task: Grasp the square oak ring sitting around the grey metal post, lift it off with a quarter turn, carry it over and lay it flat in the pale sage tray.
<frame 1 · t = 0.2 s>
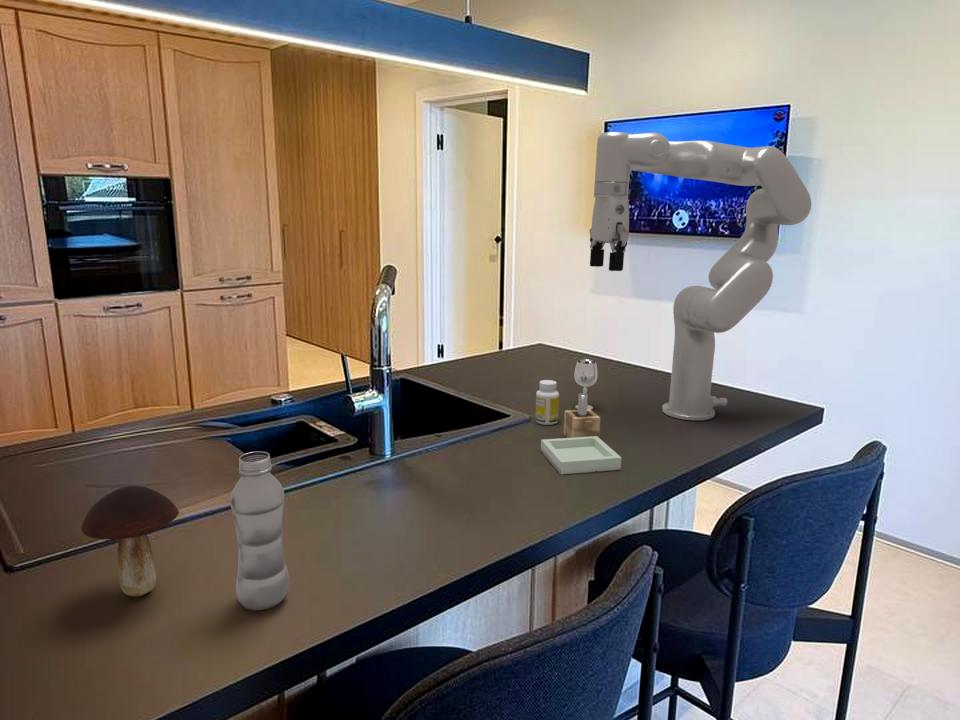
hand: (605, 268, 152), 36 cm above the counter, tool pointing down, fingers open, 9 cm apart
wineglass: (584, 408, 169), on the counter
plastic bottle: (264, 602, 86), on the counter
ring: (580, 438, 147), on the counter
supplement bottle: (546, 422, 158), on the counter
decorative mushroom: (140, 595, 87), on the counter
post: (580, 438, 147), on the counter
tray: (579, 460, 135), on the counter
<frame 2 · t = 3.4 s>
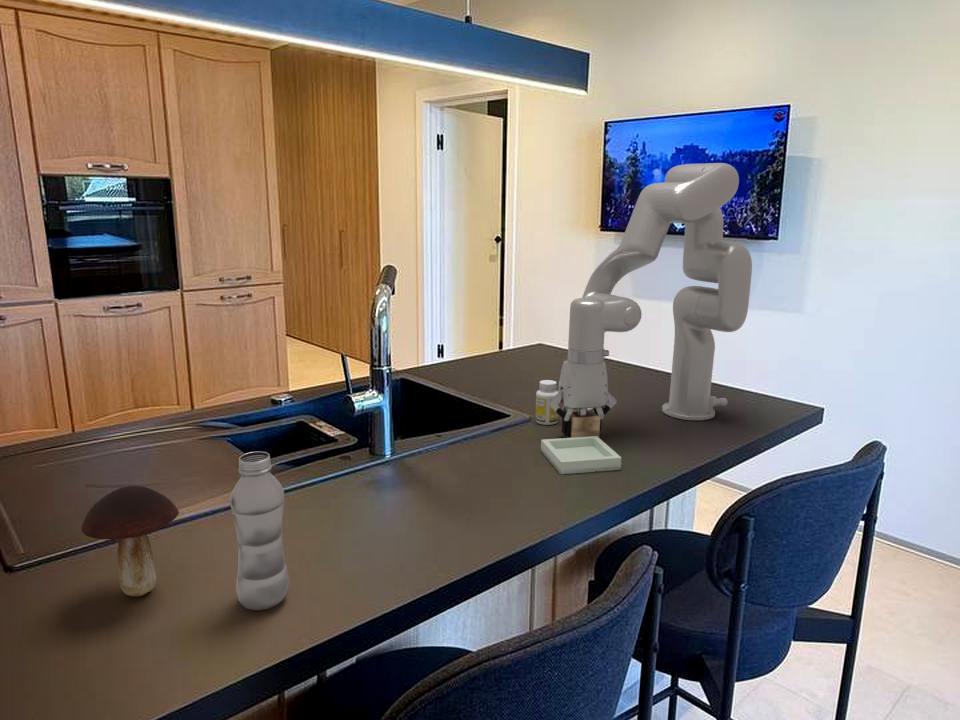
hand: (581, 434, 147), 1 cm above the counter, tool pointing down, fingers closed on ring, 6 cm apart
ring: (580, 438, 147), on the counter, touching gripper
everything else where it was.
when the fingers open (3 cm above the counter, at t = 9.0 s): ring stays where it is, resting on tray.
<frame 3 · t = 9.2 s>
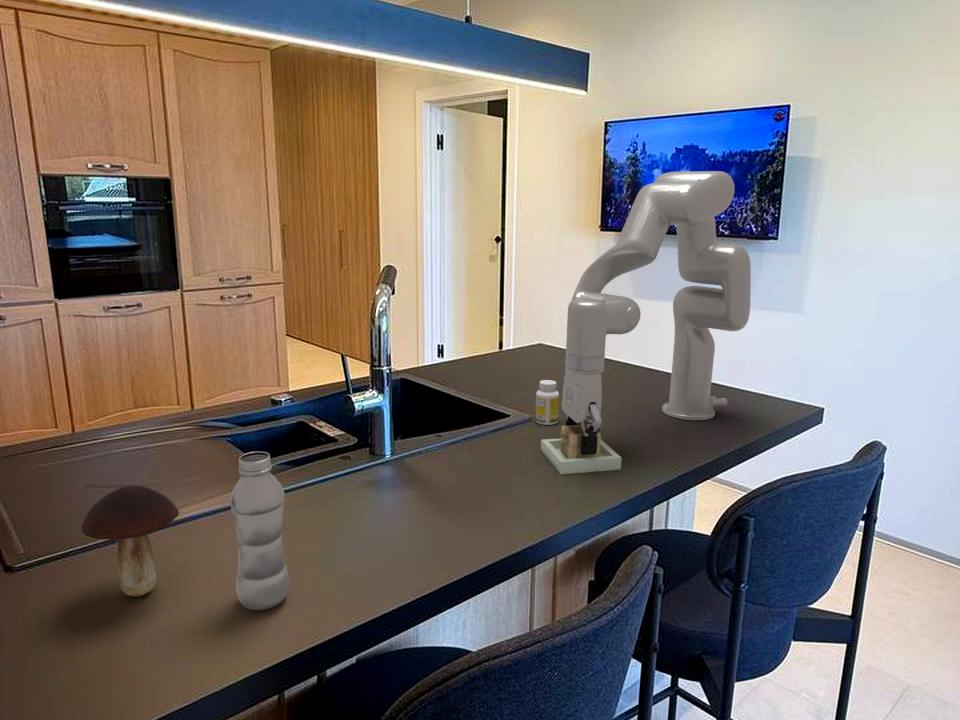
hand: (580, 445, 134), 3 cm above the counter, tool pointing down, fingers open, 8 cm apart
ring: (579, 456, 135), point 1 cm above the counter, touching tray
everything else where it was.
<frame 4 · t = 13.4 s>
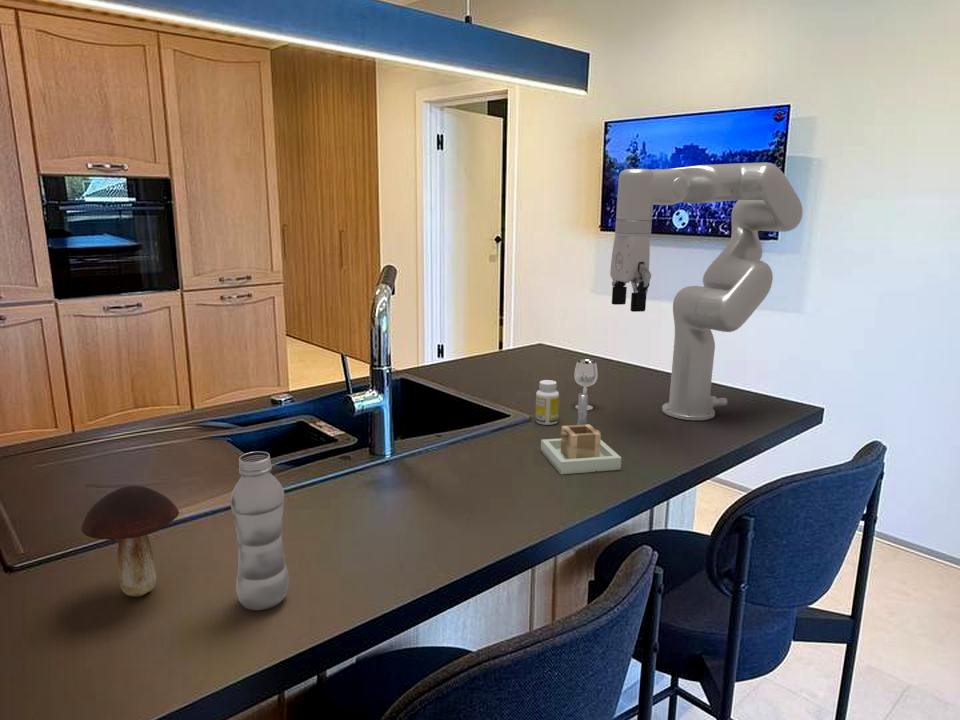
hand: (627, 307, 147), 28 cm above the counter, tool pointing down, fingers open, 9 cm apart
nothing on the counter moved.
at the end: ring inside the target area on the tray (0.0 cm from its centre), point 0.8 cm above the tray's base; ring tilted 0°; the gripper is holding nothing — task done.
